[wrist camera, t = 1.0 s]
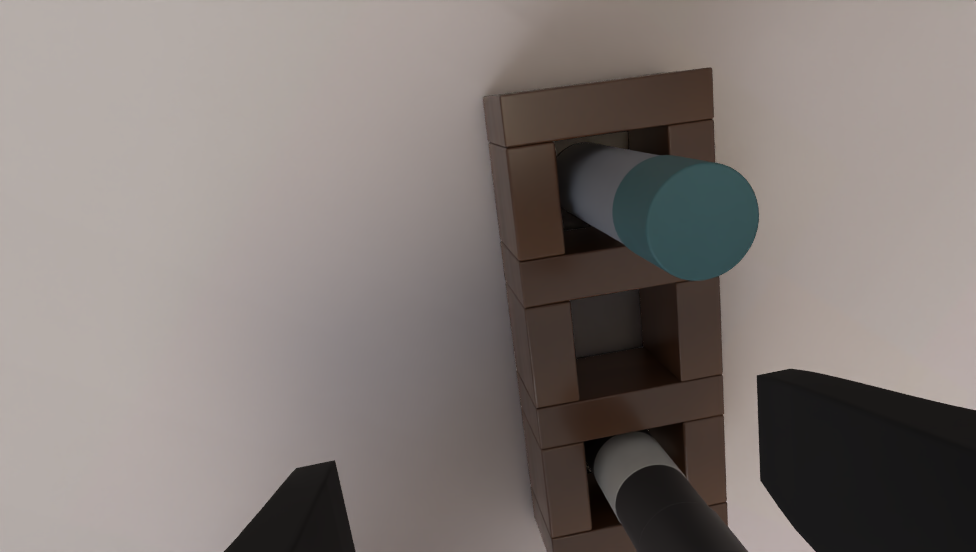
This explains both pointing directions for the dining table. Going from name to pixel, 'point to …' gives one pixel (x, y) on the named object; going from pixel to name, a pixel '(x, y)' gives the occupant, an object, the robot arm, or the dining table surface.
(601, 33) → the dining table surface
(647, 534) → the black marker
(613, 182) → the teal marker
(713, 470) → the marker stand
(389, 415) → the dining table surface
